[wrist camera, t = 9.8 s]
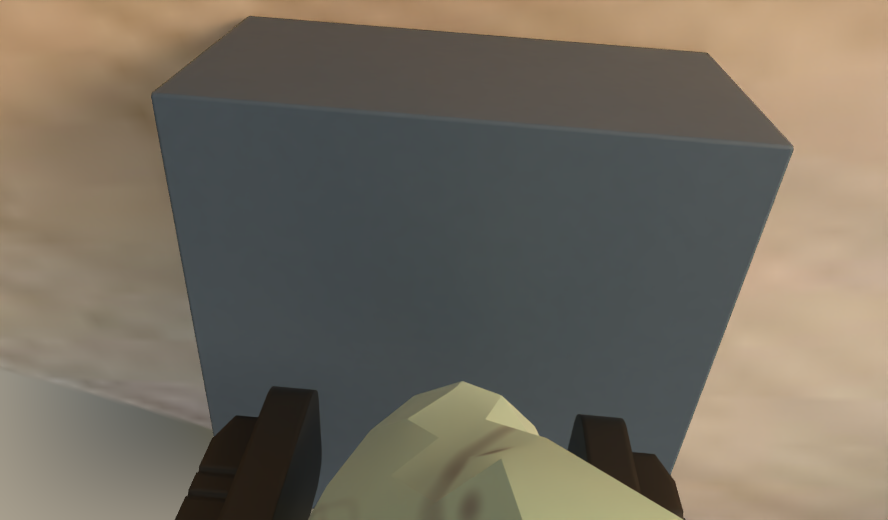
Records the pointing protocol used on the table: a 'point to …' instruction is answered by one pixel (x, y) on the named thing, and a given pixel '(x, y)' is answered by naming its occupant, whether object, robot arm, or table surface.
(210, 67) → the square block
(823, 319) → the table surface
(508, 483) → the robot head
